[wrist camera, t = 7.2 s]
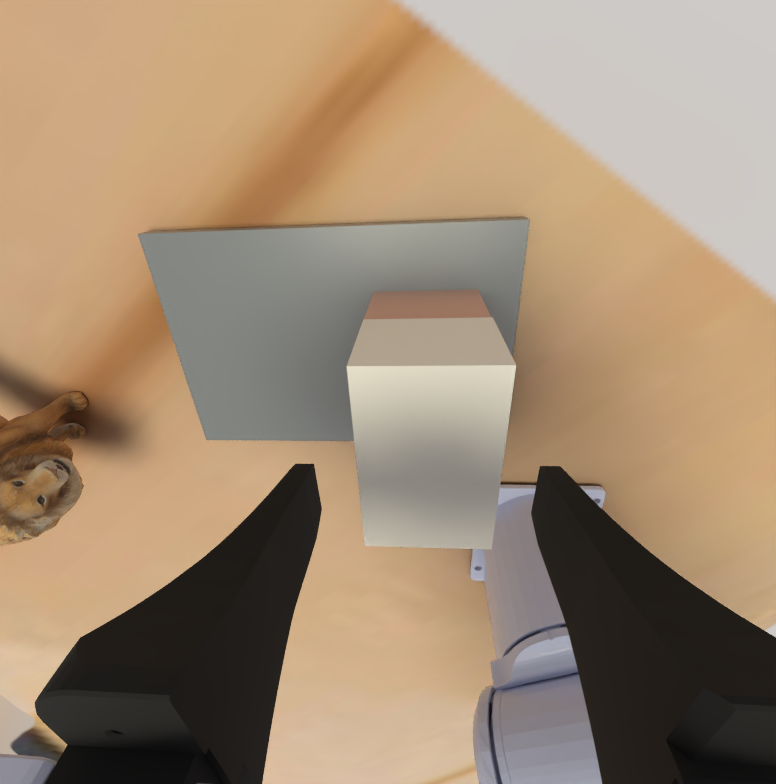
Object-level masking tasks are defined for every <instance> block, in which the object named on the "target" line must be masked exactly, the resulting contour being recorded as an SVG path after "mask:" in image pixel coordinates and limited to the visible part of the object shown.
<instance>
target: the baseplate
mask: <svg viewBox="0 0 776 784" xmlns="http://www.w3.org/2000/svg"><path fill="white" fill-rule="evenodd" d="M529 223H530V219H528V218H526V217H507V218H481V219H454V220H427V221H401V222H374V223H347V224H321V225H294V226H267V227H241V228H214V229H187V230H161V231H148V232H144V233H140V234H138V236H139V239H140V242H141V245H142V248H143V251H144V254H145V257H146V260H147V263H148V266H149V269H150V272H151V275H152V278H153V281H154V284H155V287H156V290H157V293H158V296H159V299H160V302H161V305H162V308H163V311H164V314H165V317H166V320H167V323H168V326H169V329H170V332H171V335H172V338H173V341H174V344H175V347H176V350H177V353H178V356H179V359H180V362H181V365H182V368H183V371H184V374H185V377H186V380H187V383H188V386H189V389H190V392H191V395H192V398H193V401H194V404H195V407H196V410H197V413H198V416H199V419H200V422H201V425H202V428H203V431H204V434H205V437H206V440H287V441H354V434H353V425H352V415H351V405H350V395H349V385H348V375H347V364H348V361H349V358H350V355H351V353H352V350H353V347H354V344H355V341H356V339H357V336H358V333H359V330H360V328H361V325H362V322H363V319H364V317H365V315H366V312H367V309H368V306H369V303H370V301H371V298H372V295H373V292H386V291H429V290H471V289H478V290H479V292H480V295H481V297H482V299H483V301H484V303H485V305H486V307H487V309H488V311H489V313H490V315H491V317H493V319H494V321H495V323H496V325H497V327H498V329H499V331H500V333H501V335H502V337H503V339H504V341H505V343H506V345H507V347H508V349H509V351H510V353H511V355H512V357H513V351H514V343H515V335H516V327H517V319H518V311H519V303H520V295H521V287H522V279H523V271H524V263H525V255H526V247H527V239H528V231H529Z"/></svg>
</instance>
